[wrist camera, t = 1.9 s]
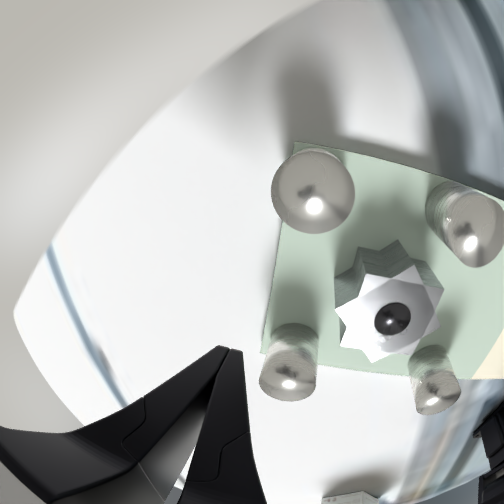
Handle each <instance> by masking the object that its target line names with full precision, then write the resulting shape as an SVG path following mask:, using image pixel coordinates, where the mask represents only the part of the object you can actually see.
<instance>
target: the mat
mask: <svg viewBox="0 0 504 504" xmlns="http://www.w3.org/2000/svg"><path fill="white" fill-rule="evenodd" d="M306 148H321V149H325V150H327V151H329V152H331V153H332V154H334V155H335V156H336V157H337V158H338V159H339V160H340V161H341V163H342V164H343V165H344V166H345V167H346V169H347V170H348V171H349V173H350V175H351V177H352V179H353V182H354V186H355V201H354V205H353V208H352V211H351V213H350V214H349V216H348V217H347V219H346V220H345V221H344V222H343V223H342V224H341V225H340V226H338V227H337V228H335V229H333V230H331V231H329V232H325V233H321V234H308V233H303V232H300V231H297V230H295V229H293V228H291V227H290V226H288V225H287V224H286V223H285V222H284V221H283V222H282V228H281V235H280V241H279V247H278V253H277V259H276V265H275V271H274V277H273V283H272V289H271V295H270V300H269V306H268V312H267V317H266V323H265V328H264V334H263V339H262V345H261V350H260V353H262V354H267V350H268V346H269V343H270V339H271V336H272V333H273V332H274V330H275V329H276V328H278V327H279V326H281V325H283V324H287V323H300V324H304V325H306V326H308V327H310V328H311V329H313V330H314V331H315V333H316V334H317V336H318V339H319V348H318V362H317V364H318V365H324V366H330V367H336V368H342V369H349V370H356V371H364V372H372V373H381V374H390V375H400V376H409V372H408V368H407V365H408V362H409V360H410V358H411V357H412V356H413V355H414V354H415V353H416V352H417V351H418V350H420V349H422V348H424V347H426V346H429V345H440V346H442V347H444V348H445V350H446V352H447V354H448V357H449V359H450V362H451V364H452V367H453V370H454V372H455V375H456V378H457V379H504V245H503V247H502V249H501V251H500V252H499V254H498V255H497V257H496V258H495V259H494V260H493V261H491V262H490V263H489V264H487V265H485V266H482V267H478V268H472V267H468V266H466V265H464V264H463V263H462V262H461V261H460V260H459V259H458V258H457V257H456V256H455V254H454V253H453V252H452V251H451V250H450V249H449V248H448V247H447V246H446V245H445V244H444V243H443V242H442V241H441V240H440V239H439V238H438V237H437V236H436V235H435V234H434V233H433V232H432V231H431V229H430V228H429V226H428V224H427V222H426V218H425V205H426V201H427V198H428V196H429V194H430V193H431V191H432V190H433V189H434V188H435V187H436V186H437V185H439V184H441V183H443V182H447V181H453V180H450V179H447V178H444V177H441V176H438V175H435V174H432V173H429V172H425V171H422V170H419V169H416V168H412V167H409V166H405V165H402V164H398V163H395V162H391V161H387V160H383V159H379V158H375V157H371V156H367V155H363V154H358V153H354V152H350V151H345V150H340V149H335V148H330V147H325V146H320V145H314V144H308V143H303V142H296V141H295V142H294V147H293V154H292V156H293V155H294V154H295V153H297V152H298V151H300V150H303V149H306ZM453 182H455V181H453ZM457 183H458V182H457ZM459 184H461V183H459ZM461 185H464V184H461ZM464 186H466V185H464ZM466 187H468V188H470V189H472V190H474V191H477V192H479V193H481V194H483V195H485V196H487V197H489V198H491V199H493V200H495V201H496V202H498V203H499V205H500V206H501V207H502V209H503V210H504V201H503V200H501V199H499V198H496V197H494V196H492V195H489V194H487V193H484V192H482V191H479V190H477V189H474V188H472V187H469V186H466ZM397 239H398V240H399V241H400V243H401V244H402V246H403V247H404V249H405V251H406V252H407V254H408V255H409V257H410V258H414V259H419V260H423V261H426V262H427V264H428V265H429V267H430V268H431V270H432V271H433V272H434V274H435V275H436V277H437V278H438V280H439V281H440V283H441V284H442V286H443V287H444V289H445V290H444V292H443V294H442V296H441V299H440V301H439V303H438V305H437V307H436V310H435V312H436V315H437V317H438V320H439V322H440V325H441V327H440V328H438V329H437V330H435V331H433V332H431V333H430V334H428V335H426V336H424V337H423V338H421V339H420V341H419V343H418V345H417V347H416V349H415V350H414V352H413V354H412V355H403V354H394V353H392V354H390V355H387V356H385V357H383V358H381V359H379V360H377V361H375V362H371V361H370V359H369V358H368V356H367V355H366V354H365V352H364V351H363V349H358V348H352V347H345V346H340V326H339V314H338V313H337V312H336V310H335V295H334V277H336V276H337V275H339V274H341V273H343V272H344V271H346V270H348V269H349V268H351V267H352V266H353V263H354V259H355V256H356V252H357V248H358V246H359V247H364V248H369V249H373V250H378V251H380V250H381V249H383V248H385V247H386V246H388V245H389V244H391V243H393V242H394V241H396V240H397Z"/></svg>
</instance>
